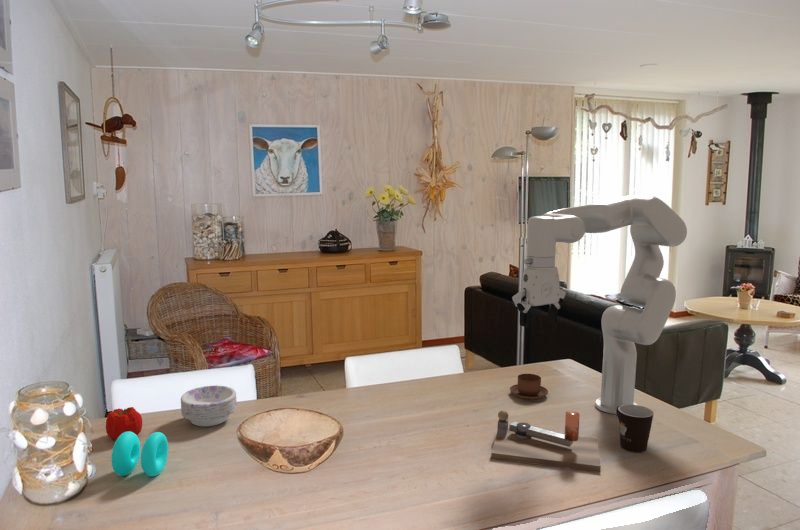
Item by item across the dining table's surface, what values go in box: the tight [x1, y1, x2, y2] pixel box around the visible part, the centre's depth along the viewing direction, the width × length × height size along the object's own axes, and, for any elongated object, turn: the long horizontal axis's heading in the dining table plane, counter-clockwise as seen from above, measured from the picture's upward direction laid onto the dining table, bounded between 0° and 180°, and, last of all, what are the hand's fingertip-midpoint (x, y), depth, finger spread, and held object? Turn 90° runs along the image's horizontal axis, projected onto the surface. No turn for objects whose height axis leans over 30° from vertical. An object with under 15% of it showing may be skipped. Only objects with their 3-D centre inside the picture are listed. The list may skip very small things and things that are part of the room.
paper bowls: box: [180, 384, 238, 428], centre depth 174 cm, size 15×15×8 cm
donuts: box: [110, 431, 169, 477], centre depth 143 cm, size 10×10×10 cm
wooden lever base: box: [490, 409, 602, 473], centre depth 156 cm, size 16×26×7 cm, turn 75°
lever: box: [508, 410, 580, 447], centre depth 158 cm, size 18×4×8 cm, turn 55°
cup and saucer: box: [509, 373, 549, 400], centre depth 196 cm, size 12×12×6 cm
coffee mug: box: [616, 404, 655, 454], centre depth 160 cm, size 12×9×10 cm
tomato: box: [105, 406, 143, 441], centre depth 163 cm, size 9×9×8 cm
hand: (538, 324), depth 166 cm, fingers open, 9 cm apart
